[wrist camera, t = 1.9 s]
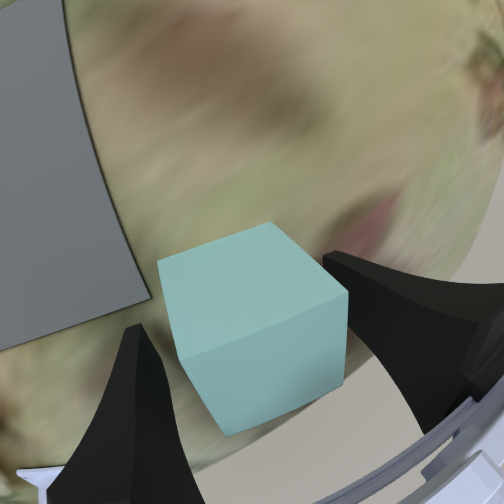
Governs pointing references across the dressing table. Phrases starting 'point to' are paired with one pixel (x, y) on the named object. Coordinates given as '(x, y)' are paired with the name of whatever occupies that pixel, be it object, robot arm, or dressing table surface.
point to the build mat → (52, 189)
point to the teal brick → (255, 325)
